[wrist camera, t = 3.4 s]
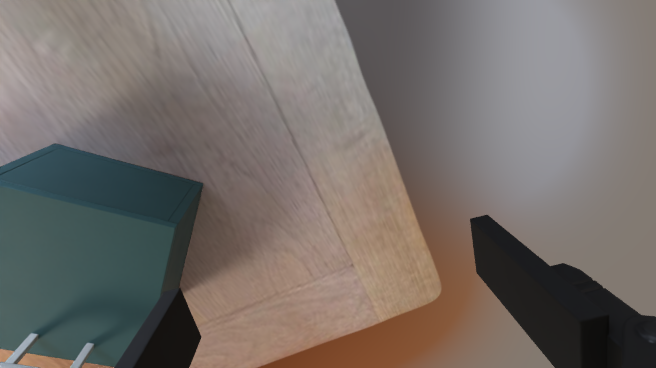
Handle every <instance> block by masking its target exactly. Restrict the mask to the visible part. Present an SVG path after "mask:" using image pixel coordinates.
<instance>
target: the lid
mask: <svg viewBox="0 0 656 368" xmlns="http://www.w3.org/2000/svg"><path fill="white" fill-rule="evenodd" d="M177 226H178V224H176V223H172V222H167V221H163V220H159V219H155V218H151V217H147V216H143V215H139V214H135V213H131V212H126V211H122V210H118V209H114V208H110V207H106V206H102V205H98V204H94V203H90V202H86V201H81V200H77V199H73V198H69V197H65V196H61V195H57V194H53V193H49V192H45V191H40V190H36V189H32V188H28V187H24V186H20V185H16V184H12V183H8V182H4V181H0V349H5V350H11V351H14V353H13V354H12V355H11V356H10V357H9V358H8V359H7V360H6V361H5V362H0V368H39V367H32V366H26V365H19V364H17V363H18V362H19V361H20V360H21V359H22V358H23V356H24V355H25V354H26V353H30V354H36V355H42V356H49V357H55V358H61V359H67V360H74V363H73V364H72V365H71V367H70V368H81V367H82V366H83V364H84V363H85V362H86V363H92V364H99V365H105V366H111V367H115V366H116V364H117V363H118V361H119V360H120V358H121V357H122V355H123V353H124V352H125V350H126V349H127V347H128V346H129V344H130V343H131V341H132V340H133V338H134V337H135V335H136V334H137V332H138V331H139V329H140V327H141V326H142V324H143V323H144V321H145V320H146V318H147V317H148V315H149V314H150V312H151V311H152V309H153V308H154V306H155V305H156V303H157V301H158V300H159V298H160V297H161V295H162V293H163V289H164V284H165V280H166V275H167V271H168V266H169V262H170V258H171V253H172V249H173V244H174V240H175V235H176V231H177Z"/></svg>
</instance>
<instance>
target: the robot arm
mask: <svg viewBox="0 0 656 368" xmlns="http://www.w3.org/2000/svg"><path fill="white" fill-rule="evenodd" d="M470 222H471V231H472V239H473V247H474V255H475V263H476V272H477V274H478V275H479V276H480V277H481V278H482V280H483V281H484V282H485V283H486V284H487V286H488V287H489V288H490V289H491V291H492V292H493V293H494V294H495V295H496V297H497V298H498V299H499V300H500V301H501V303H502V304H503V305H504V306H505V308H506V309H507V310H508V311H509V312H510V314H511V315H512V316H513V317H514V319H515V320H516V321H517V322H518V323H519V324H520V326H521V327H522V328H523V329H524V330H525V332H526V333H527V334H528V336H529V337H530V338H531V339H532V340H533V342H534V343H535V344H536V345H537V346H538V348H539V349H540V350H541V351H542V353H543V354H544V355H545V356H546V357H547V359H548V360H549V361H550V362H551V364H552V365H553V366H554V367H555V368H656V317H655V316H645V315H640V314H639V313H638V312H636V311H635V310H634V309H632V308H631V307H630V306H628V305H627V304H625V303H624V302H623V301H622V300H620V299H619V298H618V297H616V296H615V295H613V294H612V293H611V292H609V291H608V290H607V289H605V288H603V287H602V286H601V285H600V284H599V283H597V282H596V281H593V280H592V278H591V277H589V276H588V275H586V274H585V273H584V272H582V271H581V270H580V269H577V268H575V267H572V266H569V265H567V264H564V263H562V264H558V265H554V266H549V265H548V264H547V263H546V262H544V261H543V260H542V259H541V258H539V257H538V256H537V255H536V254H534V253H533V252H532V251H531V250H530V249H528V248H527V247H526V246H525V245H523V244H522V243H521V242H520V241H518V240H517V239H516V238H515V237H514V236H513V235H511V234H510V233H509V232H507V231H506V230H505V229H504V228H503V227H502V226H500V225H499V224H498V223H497V222H495V221H494V220H493V219H492V218H491V217H489V216H488V215H484V216H481V217H476V218H472V219H470ZM200 339H201V335H200V332H199V330H198V328H197V326H196V323H195V321H194V319H193V316H192V314H191V312H190V309H189V307H188V305H187V302H186V300H185V298H184V296H183V293H182V291H181V289H180V288H178V289H174V290H170V291H166V292H163V294H162V295H161V297H160V298H159V300H158V301H157V303H156V305H155V306H154V308H153V309H152V311H151V312H150V314H149V315H148V317H147V318H146V320H145V321H144V323H143V324H142V326H141V327H140V329H139V331H138V332H137V334H136V335H135V337H134V338H133V340H132V341H131V343H130V344H129V346H128V347H127V349H126V350H125V352H124V353H123V355H122V357H121V358H120V360H119V361H118V363H117V364H116V366H115V367H114V368H189V367H190V364H191V362H192V359H193V357H194V354H195V352H196V349H197V347H198V344H199V342H200Z"/></svg>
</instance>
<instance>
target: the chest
mask: <svg viewBox="0 0 656 368" xmlns="http://www.w3.org/2000/svg"><path fill="white" fill-rule="evenodd" d="M0 181H4V182H8V183H12V184H16V185H20V186H24V187H28V188H32V189H36V190H40V191H45V192H49V193H53V194H57V195H61V196H65V197H69V198H73V199H77V200H81V201H86V202H90V203H94V204H98V205H102V206H106V207H110V208H114V209H118V210H122V211H126V212H131V213H135V214H139V215H143V216H147V217H151V218H155V219H159V220H163V221H167V222H172V223H176V224H178V226H177V231H176V235H175V240H174V244H173V249H172V253H171V258H170V262H169V266H168V271H167V275H166V280H165V284H164V289H163V292H166V291H170V290H174V289H178V288H179V284H180V280H181V275H182V271H183V267H184V263H185V259H186V255H187V251H188V246H189V242H190V238H191V234H192V230H193V226H194V221H195V217H196V213H197V209H198V205H199V201H200V197H201V192H202V188H203V183H200V182H196V181H192V180H189V179H185V178H181V177H178V176H174V175H170V174H166V173H163V172H159V171H155V170H152V169H148V168H144V167H140V166H137V165H133V164H129V163H126V162H122V161H118V160H115V159H111V158H107V157H103V156H100V155H96V154H92V153H89V152H85V151H81V150H78V149H74V148H70V147H66V146H63V145H59V144H52V145H50V146H48V147H46V148H43V149H41V150H39V151H36V152H34V153H32V154H29V155H27V156H24V157H22V158H20V159H17V160H15V161H13V162H10V163H8V164H6V165H3V166H1V167H0ZM162 294H163V293H162Z"/></svg>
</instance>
